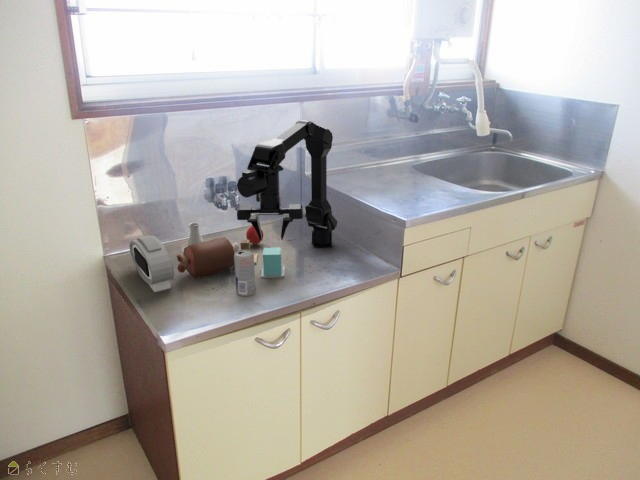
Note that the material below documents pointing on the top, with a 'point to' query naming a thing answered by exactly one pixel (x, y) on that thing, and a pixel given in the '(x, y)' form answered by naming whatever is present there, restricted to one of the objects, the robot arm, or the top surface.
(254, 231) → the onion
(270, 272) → the turquoise block
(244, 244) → the tan wooden stamp
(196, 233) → the flask
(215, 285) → the top surface
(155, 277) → the alarm clock
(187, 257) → the meat
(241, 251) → the energy drink
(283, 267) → the light grey base plate
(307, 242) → the top surface
